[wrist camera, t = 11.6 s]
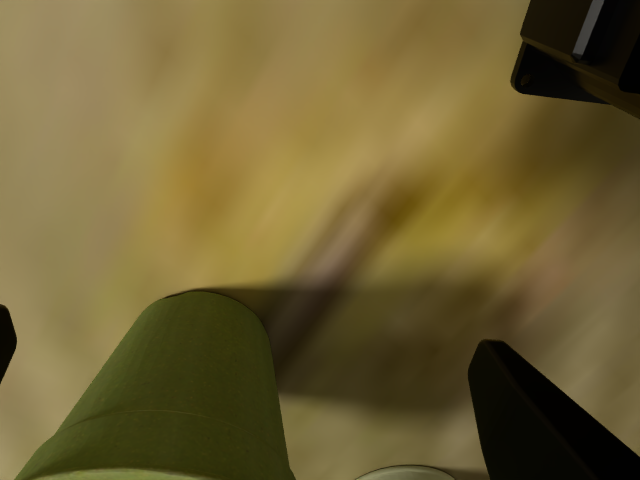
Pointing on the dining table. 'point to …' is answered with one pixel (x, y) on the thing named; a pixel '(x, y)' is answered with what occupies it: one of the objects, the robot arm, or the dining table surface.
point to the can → (406, 474)
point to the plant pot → (176, 402)
